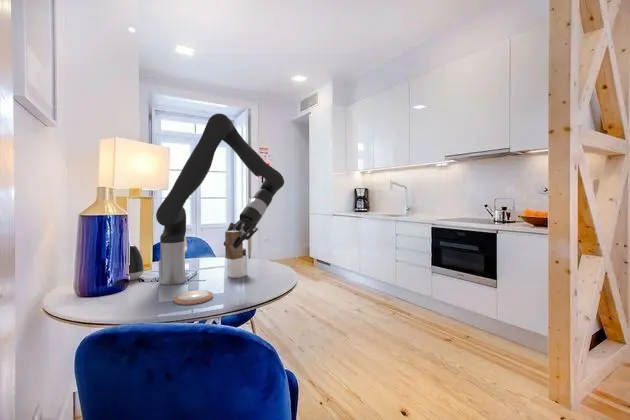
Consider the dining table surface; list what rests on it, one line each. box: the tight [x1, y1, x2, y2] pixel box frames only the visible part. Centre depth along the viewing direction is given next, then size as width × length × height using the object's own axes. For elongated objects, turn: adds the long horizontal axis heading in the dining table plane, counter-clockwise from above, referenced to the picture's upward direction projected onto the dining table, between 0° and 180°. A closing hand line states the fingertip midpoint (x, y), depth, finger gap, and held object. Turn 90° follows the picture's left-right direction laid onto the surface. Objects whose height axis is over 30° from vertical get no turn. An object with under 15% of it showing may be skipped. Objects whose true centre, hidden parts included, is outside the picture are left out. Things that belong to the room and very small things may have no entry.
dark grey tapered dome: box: [129, 244, 145, 281], centre depth 140 cm, size 10×10×15 cm
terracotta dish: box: [173, 289, 214, 306], centre depth 113 cm, size 13×13×1 cm
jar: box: [226, 247, 248, 279], centre depth 145 cm, size 9×8×12 cm
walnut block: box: [224, 230, 244, 260], centre depth 118 cm, size 4×4×10 cm
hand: (230, 246), depth 117 cm, fingers closed on walnut block, 4 cm apart
